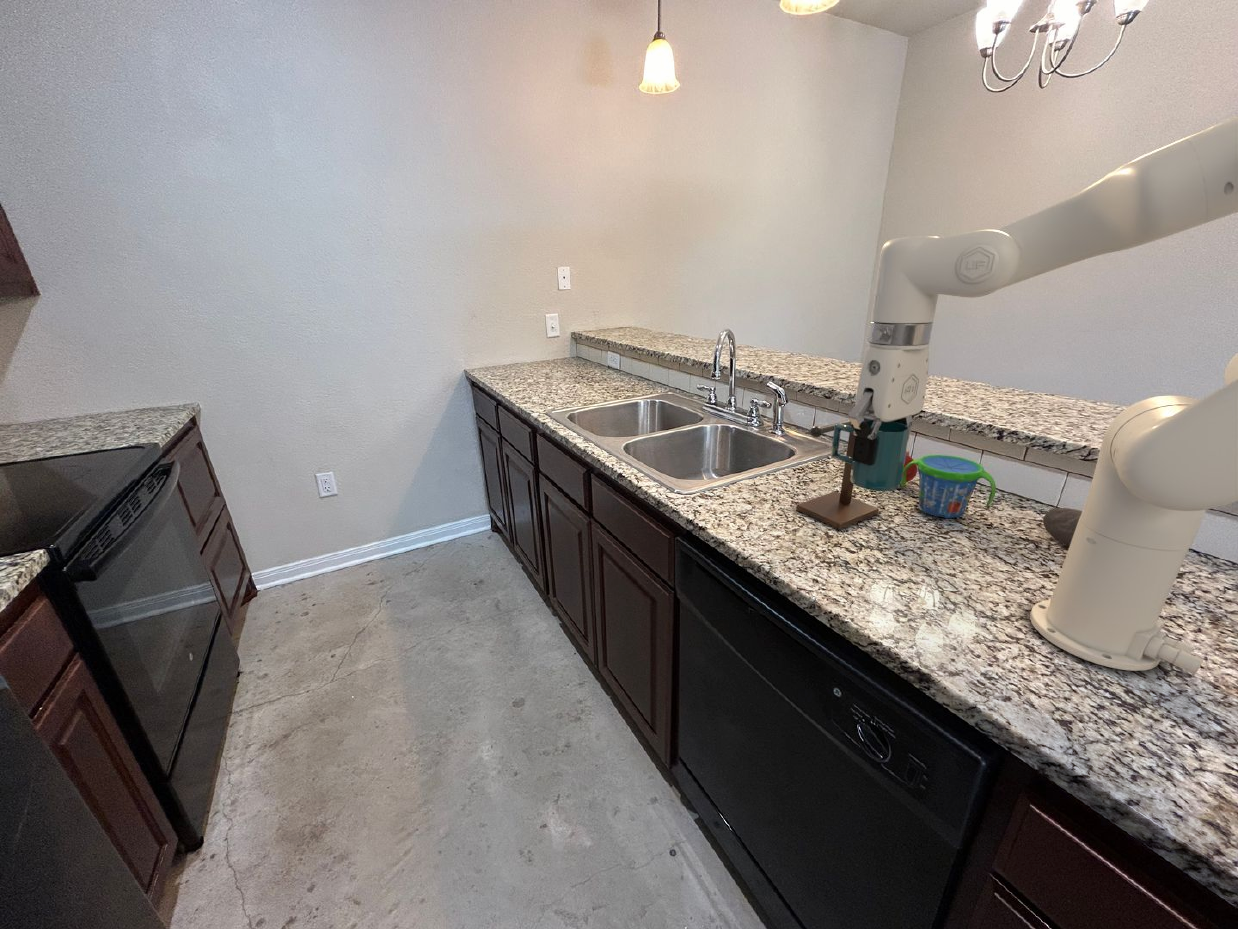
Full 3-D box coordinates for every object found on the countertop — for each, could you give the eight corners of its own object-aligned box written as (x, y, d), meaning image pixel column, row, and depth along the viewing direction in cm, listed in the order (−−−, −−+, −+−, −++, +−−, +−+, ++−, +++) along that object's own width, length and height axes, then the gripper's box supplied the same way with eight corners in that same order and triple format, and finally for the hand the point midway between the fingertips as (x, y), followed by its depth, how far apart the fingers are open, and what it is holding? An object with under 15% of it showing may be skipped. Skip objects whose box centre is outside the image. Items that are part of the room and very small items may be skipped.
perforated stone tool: (1028, 531, 91) (1038, 496, 88) (1054, 529, 91) (1065, 494, 89) (1113, 577, 77) (1129, 538, 74) (1143, 575, 77) (1160, 535, 75)
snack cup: (887, 506, 101) (896, 459, 98) (909, 491, 108) (918, 447, 104) (975, 534, 90) (989, 482, 86) (994, 516, 96) (1008, 467, 93)
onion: (887, 488, 110) (893, 454, 107) (882, 478, 115) (888, 445, 112) (916, 491, 108) (923, 456, 105) (910, 481, 113) (917, 447, 110)
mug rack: (878, 513, 98) (896, 416, 91) (817, 538, 90) (832, 432, 83) (834, 496, 106) (847, 405, 99) (775, 517, 98) (785, 419, 91)
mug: (909, 484, 75) (920, 427, 72) (882, 495, 71) (892, 435, 68) (843, 463, 84) (850, 411, 81) (816, 471, 81) (822, 418, 77)
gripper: (887, 343, 61) (866, 478, 67) (961, 332, 69) (936, 452, 76) (834, 338, 67) (819, 462, 73) (908, 328, 75) (888, 440, 82)
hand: (878, 456), depth 74 cm, fingers closed on mug, 6 cm apart
